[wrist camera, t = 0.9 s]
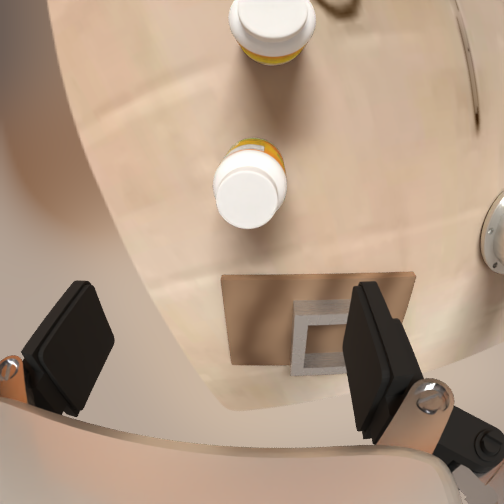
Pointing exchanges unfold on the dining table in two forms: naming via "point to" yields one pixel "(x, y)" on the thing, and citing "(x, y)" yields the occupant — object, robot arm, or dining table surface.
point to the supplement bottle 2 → (250, 183)
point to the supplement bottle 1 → (272, 28)
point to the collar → (302, 317)
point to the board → (281, 311)
